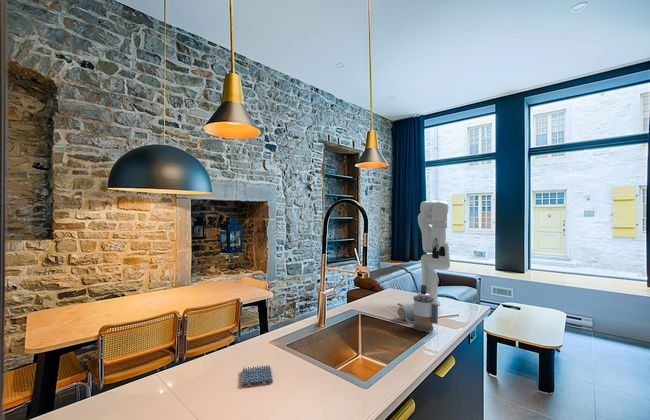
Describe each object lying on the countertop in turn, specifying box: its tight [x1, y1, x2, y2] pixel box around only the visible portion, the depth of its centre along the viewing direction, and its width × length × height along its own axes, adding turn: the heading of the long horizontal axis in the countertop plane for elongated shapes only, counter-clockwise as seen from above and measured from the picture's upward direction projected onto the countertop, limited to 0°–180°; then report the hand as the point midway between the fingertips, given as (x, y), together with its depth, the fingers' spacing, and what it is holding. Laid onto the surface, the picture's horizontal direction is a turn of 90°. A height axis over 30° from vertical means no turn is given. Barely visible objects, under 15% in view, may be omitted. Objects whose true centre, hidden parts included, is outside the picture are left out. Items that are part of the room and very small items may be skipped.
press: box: [412, 294, 439, 332], centre depth 147 cm, size 10×12×15 cm
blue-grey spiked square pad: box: [240, 364, 274, 389], centre depth 100 cm, size 10×11×2 cm
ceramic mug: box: [397, 304, 414, 325], centre depth 158 cm, size 11×8×8 cm
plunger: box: [416, 284, 430, 299], centre depth 147 cm, size 6×6×13 cm
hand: (438, 257), depth 156 cm, fingers open, 9 cm apart
